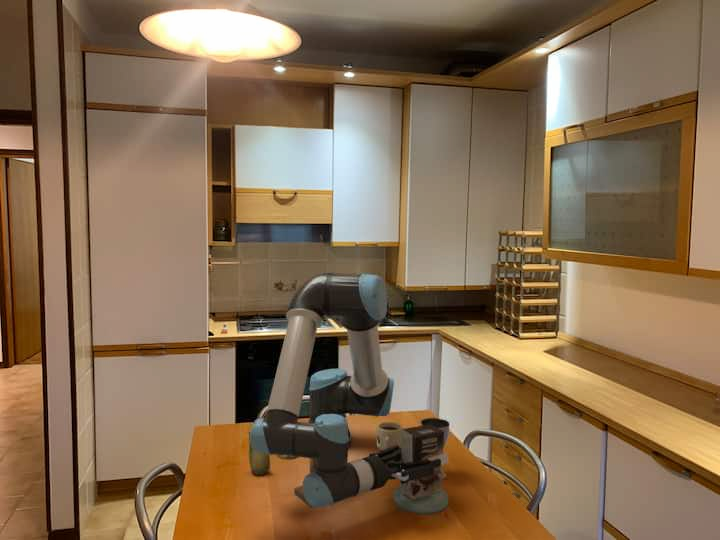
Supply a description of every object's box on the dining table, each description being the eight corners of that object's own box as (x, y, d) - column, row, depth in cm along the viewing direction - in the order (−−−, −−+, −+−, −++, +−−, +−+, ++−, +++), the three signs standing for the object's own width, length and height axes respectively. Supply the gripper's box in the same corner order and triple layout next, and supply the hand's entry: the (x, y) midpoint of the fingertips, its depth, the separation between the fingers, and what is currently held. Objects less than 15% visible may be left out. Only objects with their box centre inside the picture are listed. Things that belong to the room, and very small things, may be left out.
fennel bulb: (246, 472, 157) (246, 430, 156) (260, 466, 161) (260, 426, 160) (259, 478, 153) (259, 436, 152) (273, 473, 157) (273, 431, 156)
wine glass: (446, 482, 154) (448, 429, 152) (417, 478, 155) (419, 426, 154) (448, 469, 161) (450, 419, 160) (420, 466, 163) (422, 416, 162)
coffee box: (412, 500, 138) (414, 437, 137) (398, 489, 144) (400, 428, 142) (442, 492, 143) (445, 431, 141) (428, 482, 148) (430, 422, 147)
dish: (382, 496, 145) (382, 491, 145) (422, 482, 153) (422, 477, 153) (418, 520, 134) (419, 515, 134) (460, 503, 142) (460, 498, 142)
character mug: (379, 461, 166) (380, 418, 165) (403, 463, 165) (404, 420, 164) (372, 477, 156) (373, 431, 155) (398, 480, 154) (399, 434, 153)
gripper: (341, 474, 140) (410, 453, 154) (391, 508, 124) (464, 481, 138) (341, 445, 139) (411, 426, 153) (392, 475, 123) (465, 451, 137)
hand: (436, 452), depth 145 cm, fingers closed on coffee box, 7 cm apart
